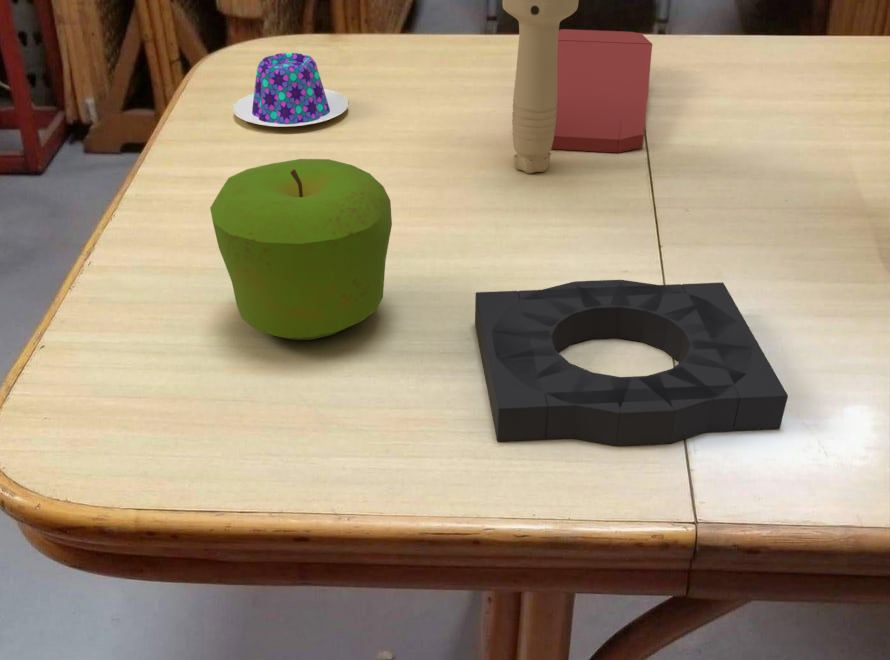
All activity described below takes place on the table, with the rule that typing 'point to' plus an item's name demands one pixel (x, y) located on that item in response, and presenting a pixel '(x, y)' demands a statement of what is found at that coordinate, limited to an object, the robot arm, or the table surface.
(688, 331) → the black plate with hole
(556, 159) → the table surface
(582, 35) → the red chamfered slab
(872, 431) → the table surface
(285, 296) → the apple
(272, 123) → the pudding
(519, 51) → the handle
